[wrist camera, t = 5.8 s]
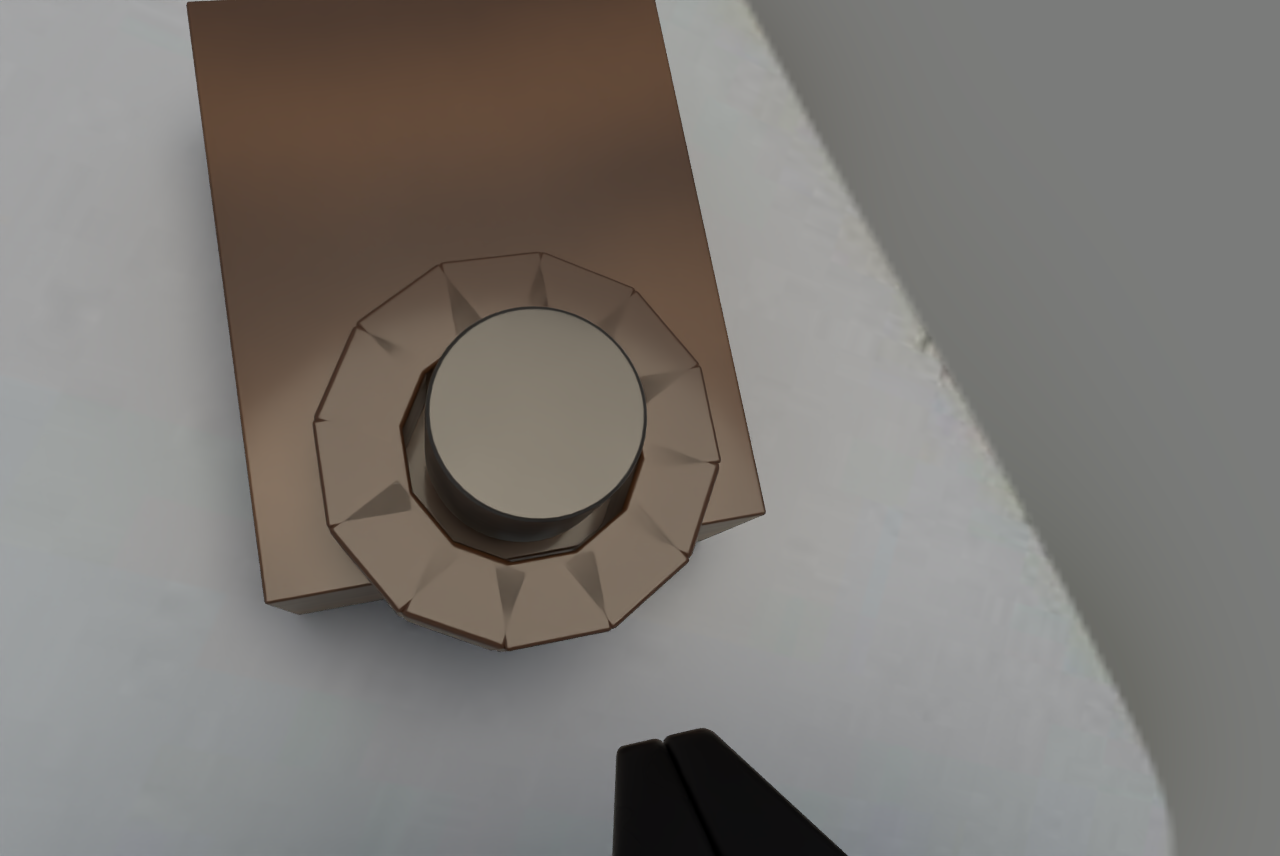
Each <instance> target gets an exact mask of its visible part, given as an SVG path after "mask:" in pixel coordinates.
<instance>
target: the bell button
mask: <svg viewBox="0 0 1280 856" xmlns="http://www.w3.org/2000/svg"><path fill="white" fill-rule="evenodd" d="M646 428H647V407H646V399H645V394H644V390H643V387H642V383H641V381H640V378H639V376H638V373H637V371H636V369H635V367H634V365H633V364H632V362H631V360H630V358H629V357H628V356H627V354H626V353H625V352H624V350H623V349H622V347H621V346H620V345H619V344H618V343H617V342H616V341H615V340H614V339H613V338H612V337H611V336H610V335H609V334H607V333H606V332H605V331H604V330H602V329H601V328H600V327H598V326H597V325H595V324H594V323H592V322H590V321H589V320H587V319H585V318H582V317H580V316H578V315H576V314H573V313H570V312H567V311H564V310H560V309H555V308H550V307H539V306H528V307H517V308H511V309H506V310H503V311H500V312H497V313H493V314H491V315H489V316H487V317H485V318H482V319H480V320H478V321H477V322H475V323H474V324H472V325H471V326H469V327H468V328H466V329H465V330H464V331H463V332H462V333H460V334H459V335H458V336H457V337H456V338H455V339H454V340H453V341H452V342H451V344H450V345H449V346H448V347H447V348H446V350H445V351H444V353H443V354H442V356H441V357H440V359H439V360H438V362H437V364H436V366H435V368H434V370H433V372H432V376H431V379H430V382H429V385H428V389H427V394H426V400H425V460H426V465H427V469H428V474H429V476H430V479H431V482H432V484H433V486H434V488H435V490H436V492H437V494H438V496H439V497H440V499H441V500H442V501H443V503H444V504H445V506H446V507H447V508H448V509H449V510H450V511H451V512H452V513H453V514H454V515H455V516H456V517H457V518H458V519H459V520H461V521H462V522H463V523H464V524H466V525H467V526H469V527H471V528H472V529H474V530H476V531H478V532H480V533H482V534H484V535H487V536H489V537H493V538H496V539H500V540H505V541H512V542H531V541H539V540H544V539H548V538H552V537H554V536H557V535H559V534H562V533H564V532H566V531H568V530H569V529H571V528H573V527H575V526H576V525H577V524H579V523H580V522H581V521H583V520H584V519H585V518H586V517H588V516H589V515H590V514H591V513H592V512H593V511H595V510H596V509H597V508H598V507H599V506H601V505H602V504H603V503H604V502H605V501H606V500H608V499H609V498H610V497H611V496H612V495H613V494H614V493H615V492H616V491H617V490H618V489H619V488H620V487H621V486H622V485H623V483H624V482H625V481H626V480H627V478H628V477H629V476H630V474H631V472H632V471H633V469H634V467H635V465H636V464H637V461H638V459H639V456H640V454H641V452H642V448H643V444H644V441H645V436H646Z"/></svg>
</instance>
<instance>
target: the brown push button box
mask: <svg viewBox="0 0 1280 856" xmlns="http://www.w3.org/2000/svg"><path fill="white" fill-rule="evenodd" d="M186 6H187V14H188V21H189V29H190V37H191V44H192V52H193V59H194V67H195V75H196V82H197V90H198V98H199V105H200V113H201V121H202V128H203V136H204V144H205V151H206V159H207V166H208V174H209V182H210V189H211V197H212V205H213V212H214V220H215V228H216V235H217V243H218V251H219V258H220V266H221V273H222V281H223V289H224V296H225V304H226V312H227V319H228V327H229V335H230V342H231V350H232V358H233V365H234V373H235V380H236V388H237V396H238V403H239V411H240V419H241V426H242V434H243V442H244V449H245V457H246V464H247V472H248V480H249V487H250V495H251V503H252V510H253V518H254V526H255V533H256V541H257V549H258V556H259V564H260V571H261V579H262V587H263V594H264V602H265V603H266V604H268V605H271V606H274V607H277V608H280V609H283V610H286V611H289V612H292V613H295V614H298V615H301V614H307V613H312V612H318V611H323V610H328V609H334V608H339V607H345V606H350V605H356V604H361V603H366V602H372V601H377V600H383V599H385V601H386V602H387V603H388V604H389V605H390V607H391V608H392V609H393V610H394V611H395V613H396V614H397V615H398V616H399V617H403V618H404V619H405V620H406V621H407V622H410V623H413V624H416V625H419V626H422V627H425V628H428V629H430V630H433V631H436V632H439V633H442V634H445V635H448V636H451V637H453V638H456V639H459V640H462V641H465V642H468V643H471V644H474V645H476V646H479V647H482V648H485V649H488V650H497V651H498V652H507V651H513V650H518V649H523V648H528V647H533V646H538V645H543V644H548V643H553V642H558V641H563V640H568V639H573V638H578V637H583V636H588V635H593V634H598V633H603V632H608V631H610V630H611V629H614V628H616V627H617V626H618V625H619V624H620V623H621V622H623V621H624V620H625V619H626V618H627V617H628V616H629V615H630V614H631V613H633V612H634V611H635V610H636V609H637V608H638V607H639V606H640V605H641V604H643V603H644V602H645V601H646V600H647V599H648V598H649V597H650V596H651V595H653V594H654V593H655V592H656V591H657V590H658V589H659V588H660V587H662V586H663V585H664V584H665V583H666V582H667V581H668V580H669V579H670V578H672V577H673V576H674V575H675V574H676V573H677V572H678V571H679V570H680V569H682V568H683V567H684V566H685V565H686V564H687V563H688V562H689V557H690V556H691V555H692V553H693V550H694V547H695V544H696V542H697V541H702V540H704V539H706V538H709V537H711V536H714V535H716V534H719V533H721V532H723V531H726V530H728V529H731V528H733V527H735V526H738V525H740V524H743V523H745V522H747V521H750V520H752V519H755V518H757V517H759V516H762V515H764V514H765V513H766V510H765V506H764V501H763V496H762V492H761V487H760V483H759V478H758V473H757V469H756V464H755V460H754V455H753V450H752V446H751V441H750V436H749V432H748V427H747V423H746V418H745V413H744V409H743V404H742V400H741V395H740V390H739V386H738V381H737V376H736V372H735V367H734V363H733V358H732V353H731V349H730V344H729V340H728V335H727V330H726V326H725V321H724V317H723V312H722V307H721V303H720V298H719V293H718V289H717V284H716V280H715V275H714V270H713V266H712V261H711V257H710V252H709V247H708V243H707V238H706V233H705V229H704V224H703V220H702V215H701V210H700V206H699V201H698V197H697V192H696V187H695V183H694V178H693V174H692V169H691V164H690V160H689V155H688V150H687V146H686V141H685V137H684V132H683V127H682V123H681V118H680V114H679V109H678V104H677V100H676V95H675V90H674V86H673V81H672V77H671V72H670V67H669V63H668V58H667V54H666V49H665V44H664V40H663V35H662V31H661V26H660V21H659V17H658V12H657V7H656V3H655V0H215V1H195V2H187V5H186ZM528 306H539V307H550V308H555V309H560V310H564V311H567V312H570V313H573V314H576V315H578V316H580V317H582V318H585V319H587V320H589V321H590V322H592V323H594V324H595V325H597V326H598V327H600V328H601V329H602V330H604V331H605V332H606V333H607V334H609V335H610V336H611V337H612V338H613V339H614V340H615V341H616V342H617V343H618V344H619V345H620V346H621V347H622V349H623V350H624V352H625V353H626V354H627V356H628V357H629V358H630V360H631V362H632V364H633V365H634V367H635V369H636V371H637V373H638V376H639V378H640V381H641V383H642V387H643V390H644V394H645V399H646V407H647V428H646V436H645V441H644V444H643V448H642V452H641V454H640V456H639V459H638V461H637V464H636V465H635V467H634V469H633V471H632V472H631V474H630V476H629V477H628V478H627V480H626V481H625V482H624V483H623V485H622V486H621V487H620V488H619V489H618V490H617V491H616V492H615V493H614V494H613V495H612V496H611V497H610V498H609V499H608V500H606V501H605V502H604V503H603V504H602V505H601V506H599V507H598V508H597V509H596V510H595V511H593V512H592V513H591V514H590V515H589V516H588V517H586V518H585V519H584V520H583V521H581V522H580V523H579V524H577V525H576V526H575V527H573V528H571V529H569V530H568V531H566V532H564V533H562V534H559V535H557V536H554V537H552V538H548V539H544V540H539V541H531V542H512V541H505V540H500V539H496V538H493V537H489V536H487V535H484V534H482V533H480V532H478V531H476V530H474V529H472V528H471V527H469V526H467V525H466V524H464V523H463V522H462V521H461V520H459V519H458V518H457V517H456V516H455V515H454V514H453V513H452V512H451V511H450V510H449V509H448V508H447V507H446V506H445V504H444V503H443V501H442V500H441V499H440V497H439V496H438V494H437V492H436V490H435V488H434V486H433V484H432V482H431V479H430V476H429V474H428V469H427V465H426V460H425V400H426V394H427V389H428V385H429V382H430V379H431V376H432V372H433V370H434V368H435V366H436V364H437V362H438V360H439V359H440V357H441V356H442V354H443V353H444V351H445V350H446V348H447V347H448V346H449V345H450V344H451V342H452V341H453V340H454V339H455V338H456V337H457V336H458V335H459V334H460V333H462V332H463V331H464V330H465V329H466V328H468V327H469V326H471V325H472V324H474V323H475V322H477V321H478V320H480V319H482V318H485V317H487V316H489V315H491V314H493V313H497V312H500V311H503V310H506V309H511V308H517V307H528Z"/></svg>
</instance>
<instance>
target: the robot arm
mask: <svg viewBox="0 0 1280 856" xmlns="http://www.w3.org/2000/svg"><path fill="white" fill-rule="evenodd" d="M612 856H848V855H846V854H845V853H844V852H843V851H842V850H841V849H840V848H839V847H838V846H837V845H836V844H835V843H833V842H832V841H831V840H830V839H829V838H828V837H827V836H826V835H825V834H824V833H823V832H822V831H820V830H819V829H818V828H817V827H816V826H815V825H814V824H813V823H812V822H811V821H810V820H809V819H807V818H806V817H805V816H804V815H803V814H802V813H801V812H800V811H799V810H798V809H797V808H795V807H794V806H793V805H792V804H791V803H790V802H789V801H788V800H787V799H786V798H785V797H784V796H782V795H781V794H780V793H779V792H778V791H777V790H776V789H775V788H774V787H773V786H772V785H771V784H769V783H768V782H767V781H766V780H765V779H764V778H763V777H762V776H761V775H760V774H759V773H758V772H756V771H755V770H754V769H753V768H752V767H751V766H750V765H749V764H748V763H747V762H746V761H745V760H743V759H742V758H741V757H740V756H739V755H738V754H737V753H736V752H735V751H734V750H733V749H731V748H730V747H729V746H728V745H727V744H726V743H725V742H724V741H723V740H722V739H721V738H720V737H718V736H717V735H716V734H715V733H714V732H713V731H711V730H709V729H706V728H699V729H694V730H690V731H686V732H681V733H677V734H673V735H669V736H667V737H666V738H665V739H664V742H662V741H661V740H658V739H651V740H646V741H642V742H638V743H633V744H629V745H625V746H622V747H620V748H619V749H618V751H617V756H616V778H615V803H614V828H613V853H612Z"/></svg>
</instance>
